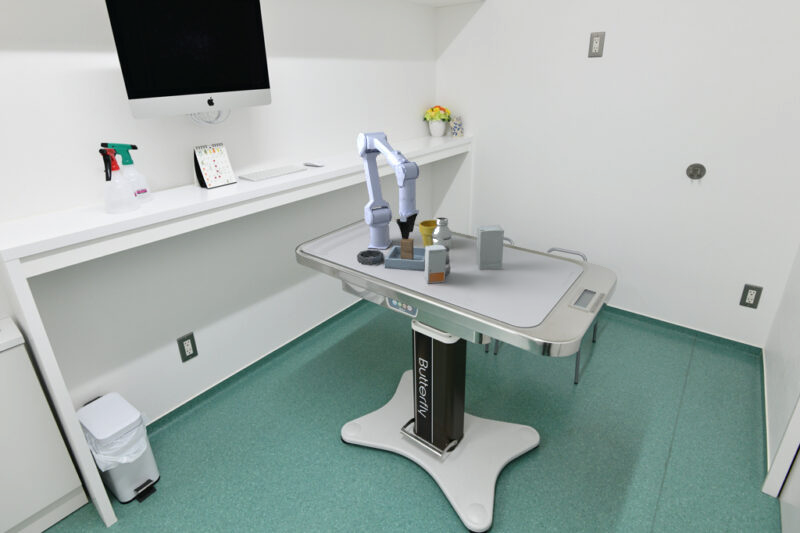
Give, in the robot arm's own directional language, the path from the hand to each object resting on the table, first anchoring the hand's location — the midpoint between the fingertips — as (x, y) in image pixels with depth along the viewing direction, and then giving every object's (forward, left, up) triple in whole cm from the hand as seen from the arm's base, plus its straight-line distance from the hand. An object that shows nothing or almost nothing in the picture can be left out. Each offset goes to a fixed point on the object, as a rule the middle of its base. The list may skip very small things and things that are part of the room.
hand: (407, 235), depth 162 cm
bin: (0, 0, -10) cm, 10 cm away
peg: (0, 0, -10) cm, 10 cm away
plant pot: (-18, +6, -11) cm, 22 cm away
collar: (+1, -14, -10) cm, 17 cm away
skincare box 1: (+14, +12, -10) cm, 22 cm away
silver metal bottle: (+10, +14, -10) cm, 20 cm away
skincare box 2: (-1, +29, -11) cm, 31 cm away
